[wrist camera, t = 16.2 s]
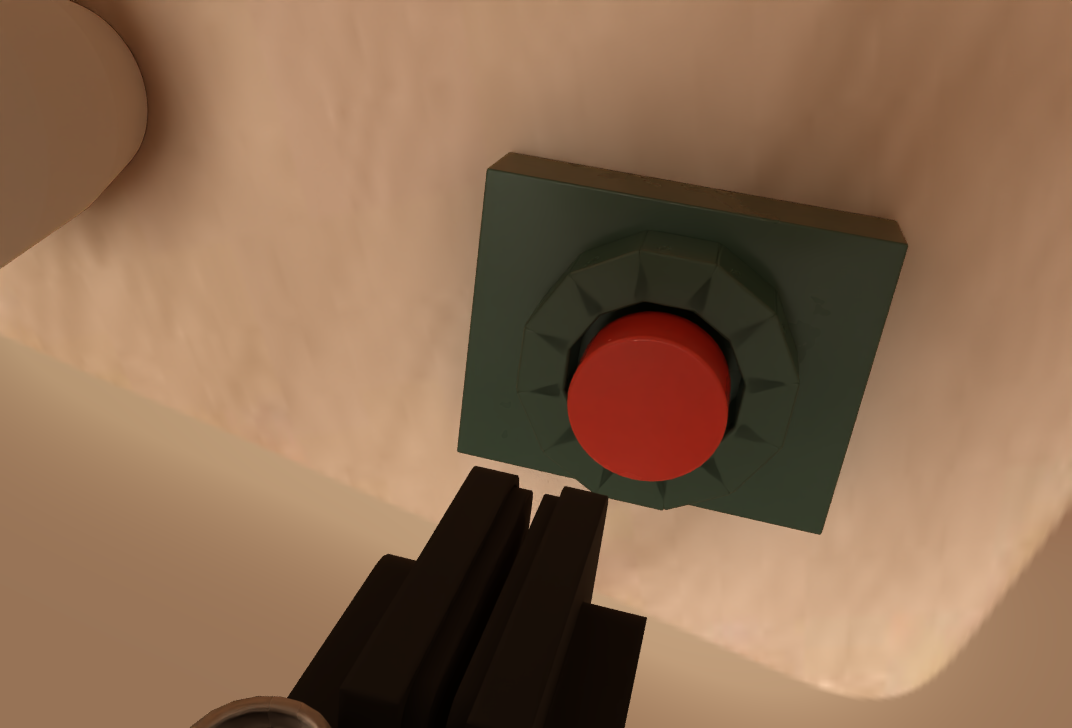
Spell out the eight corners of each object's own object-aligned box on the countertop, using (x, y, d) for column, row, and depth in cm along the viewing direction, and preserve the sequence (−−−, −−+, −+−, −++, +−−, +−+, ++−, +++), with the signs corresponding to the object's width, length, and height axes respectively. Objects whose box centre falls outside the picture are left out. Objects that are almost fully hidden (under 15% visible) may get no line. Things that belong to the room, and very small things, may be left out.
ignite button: (745, 326, 22) (743, 355, 20) (713, 462, 23) (709, 498, 22) (591, 296, 22) (578, 321, 21) (570, 430, 24) (556, 463, 22)
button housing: (898, 220, 24) (920, 267, 20) (817, 493, 27) (824, 576, 23) (508, 151, 25) (465, 183, 22) (478, 418, 28) (436, 484, 25)
